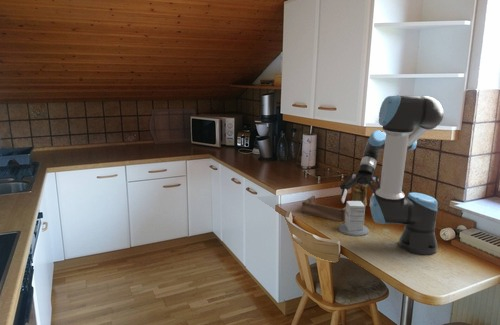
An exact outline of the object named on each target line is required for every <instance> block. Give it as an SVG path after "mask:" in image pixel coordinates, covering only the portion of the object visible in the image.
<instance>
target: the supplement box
mask: <svg viewBox="0 0 500 325" xmlns="http://www.w3.org/2000/svg"><path fill="white" fill-rule="evenodd" d="M345 201H346V202H345V203H346V204H345V206H346V216H345V221H344V223H345V226H346V227H347V229H348V231H363V227H364V226H365V225H364V223H365V216H366V215H365V214H366V213H365V212H366V206H364V204H363V203H362V202H361V201H352V200H345Z"/></svg>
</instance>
